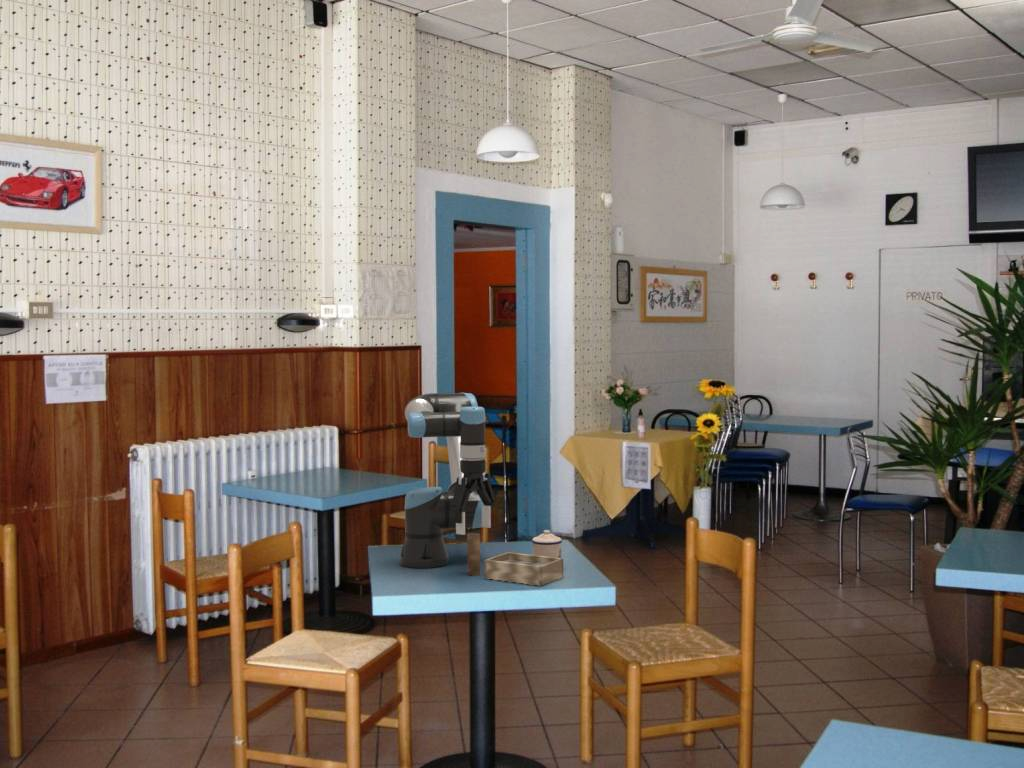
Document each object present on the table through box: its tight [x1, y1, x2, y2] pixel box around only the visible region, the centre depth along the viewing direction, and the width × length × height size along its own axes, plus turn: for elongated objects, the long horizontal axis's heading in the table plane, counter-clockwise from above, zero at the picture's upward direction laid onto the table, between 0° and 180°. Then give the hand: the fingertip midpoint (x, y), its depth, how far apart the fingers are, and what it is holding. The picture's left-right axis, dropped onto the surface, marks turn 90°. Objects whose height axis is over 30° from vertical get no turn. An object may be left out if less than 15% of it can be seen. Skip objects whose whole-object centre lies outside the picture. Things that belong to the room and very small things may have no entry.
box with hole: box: [483, 551, 564, 587], centre depth 306 cm, size 19×13×6 cm
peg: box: [466, 532, 481, 576], centre depth 311 cm, size 4×4×12 cm
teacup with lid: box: [531, 529, 563, 558], centre depth 319 cm, size 12×9×12 cm
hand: (473, 530), depth 311 cm, fingers open, 13 cm apart
